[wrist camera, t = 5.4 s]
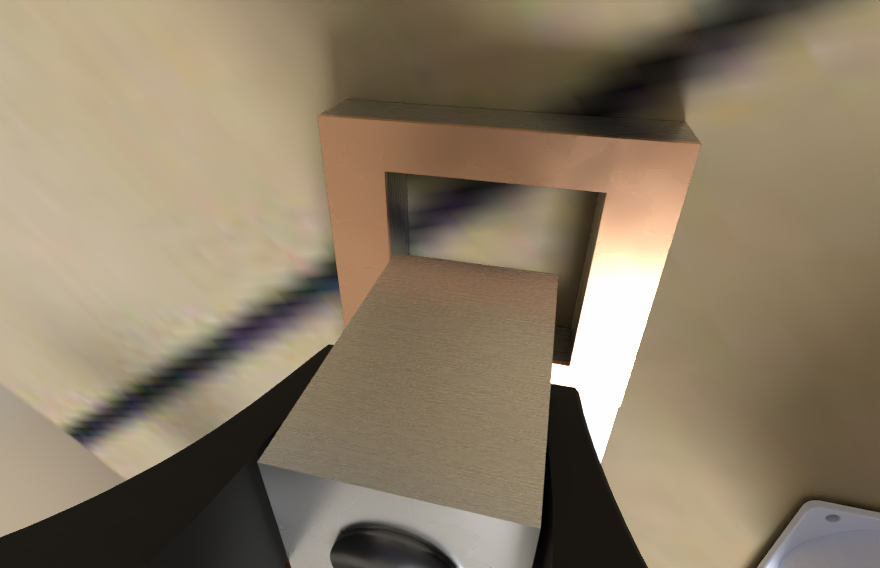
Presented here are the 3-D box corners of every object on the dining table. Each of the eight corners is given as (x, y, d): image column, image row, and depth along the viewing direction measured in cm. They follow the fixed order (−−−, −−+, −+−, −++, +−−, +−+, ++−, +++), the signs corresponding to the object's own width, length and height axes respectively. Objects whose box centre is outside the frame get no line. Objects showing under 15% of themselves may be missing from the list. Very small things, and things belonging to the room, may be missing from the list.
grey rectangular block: (558, 274, 12) (540, 539, 7) (537, 395, 15) (510, 665, 9) (394, 253, 13) (252, 469, 8) (400, 371, 16) (296, 603, 10)
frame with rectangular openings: (685, 122, 14) (701, 145, 12) (558, 568, 28) (556, 609, 26) (346, 99, 16) (317, 115, 14) (387, 526, 30) (375, 561, 28)
